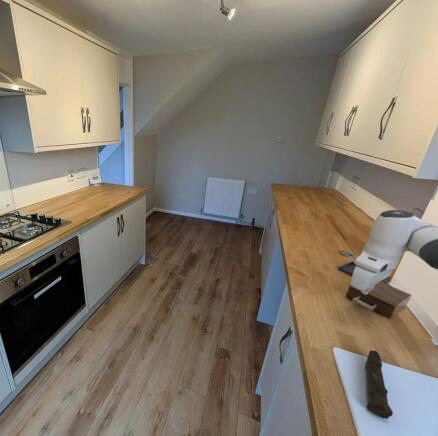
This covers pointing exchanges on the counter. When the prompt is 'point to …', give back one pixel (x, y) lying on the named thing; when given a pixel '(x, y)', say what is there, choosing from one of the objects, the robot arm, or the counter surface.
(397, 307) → the cabinet
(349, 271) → the tray
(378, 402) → the dark brown elongated piece
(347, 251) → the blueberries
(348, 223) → the counter surface
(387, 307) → the drawer
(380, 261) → the robot arm
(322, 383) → the counter surface
